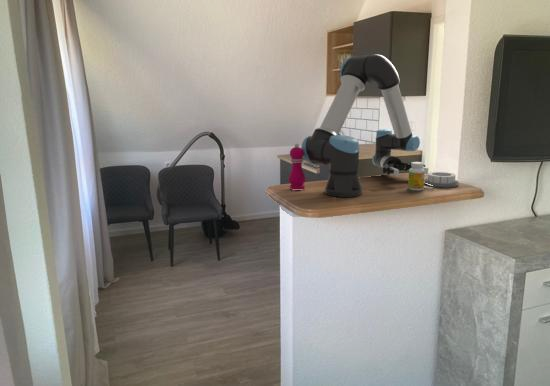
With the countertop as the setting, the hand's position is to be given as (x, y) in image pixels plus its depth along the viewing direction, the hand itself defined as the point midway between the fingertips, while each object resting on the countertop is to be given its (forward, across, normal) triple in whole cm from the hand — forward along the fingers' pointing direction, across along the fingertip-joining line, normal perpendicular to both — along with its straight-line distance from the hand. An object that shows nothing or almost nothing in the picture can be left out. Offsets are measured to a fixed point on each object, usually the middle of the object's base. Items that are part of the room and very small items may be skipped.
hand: (412, 172), depth 180 cm
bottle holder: (0, -14, -6) cm, 15 cm away
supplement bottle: (+5, +1, -7) cm, 8 cm away
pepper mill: (-8, +49, -7) cm, 51 cm away
